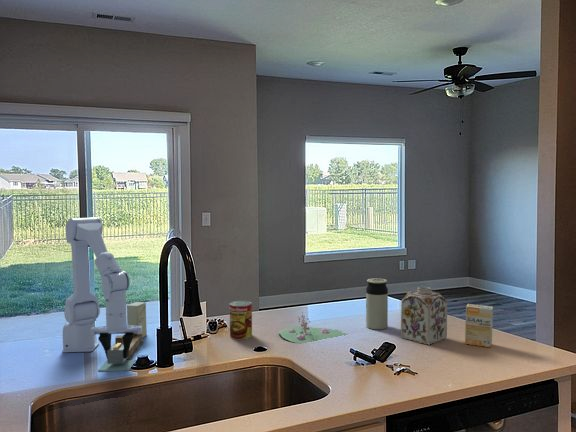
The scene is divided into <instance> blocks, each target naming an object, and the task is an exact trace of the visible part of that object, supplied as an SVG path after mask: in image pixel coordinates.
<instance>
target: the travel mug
mask: <svg viewBox="0 0 576 432" xmlns="http://www.w3.org/2000/svg"><path fill="white" fill-rule="evenodd" d="M366 282H367V286H366V288H365V289H366V293H365V295H366V296H365V303H366V305H365V310H366V311H365V312H366V313H365V314H366V315H365V316H366V317H365V326H366V328H368V329H371V330H374V329H376V330H377V331H378V330H385V329H387V328H388V326H389V323H388V319H389V318H388V317H389V316H388V315H389V314H388V311H389V310H388V307H389V306H388V305H389V302H388V301H389V298H388V297H389V295H388V294H389V289H388V286H387V282H388V279H384V278H377V277H375V278H368V279H367V280H366ZM376 330H375V331H376Z"/></svg>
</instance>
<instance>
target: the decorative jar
mask: <svg viewBox="0 0 576 432" xmlns="http://www.w3.org/2000/svg"><path fill="white" fill-rule="evenodd" d="M447 335H448V301H447V299H445V297H444V296H443V295H441V293H440V292H437V291H432V288H431V287H428V286H418V287H417V288H416V290H412V291H408V292H407V293H406V294H405V295H404V296H403V298H402V299H401V310H400V337H401V339H404V338H405V339H404V340H407V339H409V340H408V341H411V340H413V341H412V342H415V341H417V342H416V343H418V342H421V343H420V344H422V343H424V344H423V345H425V344H428V345H427V346H431V345H433V344H432V343H434V344H436V343H439V342H441V341H444V340H447V337H448V336H447ZM443 339H444V340H443ZM438 341H439V342H438ZM435 342H436V343H435ZM430 344H431V345H430Z"/></svg>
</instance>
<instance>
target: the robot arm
mask: <svg viewBox="0 0 576 432" xmlns="http://www.w3.org/2000/svg"><path fill="white" fill-rule="evenodd" d="M103 229H104V227H103V221H102V220H101V218H100V217H99V216H95V217H93V216H92V217H77V218H74V217H70V218H69V219H68V220H67V221H66V223H65V239H66V243H68V244H70V247H71V264H72V265H71V266H72V282H73V283H72V285H73V293H72V294H71V295H70V296H69V297H67V299H66V300H65V303H64V304H65V305H64V314H63V315H64V319H65V321H66V323H64V325H63V327H62V351H61V352H62V353H81V352H82V353H84V352H85V353H86V352H88V353H89V352H93V351H94V350H95V349H96V348H97V347H98V346H99V345H100V343H101V345H102V348H103V350H104V353H105V356H106V358H107V350H108V349H109V348H110V347H111V346H112V335H121V334H122V335H124V336H123V337H122V338H123V345H124V358H127V357H128V353H129V348H130V344H131V342H132V339H133V337H134V334H135V333H137V334H141V333H142V326H133V325H127V291H128V290H129V288H130V278H129V275H128V273H127V271H124V270H123V269H122V268H120V266H119V264H118V261H117V260H116V258H115V256H114V254H113V253H111V252H109V251H108V248H107V247H106V244H105V241H104V238H103ZM88 246H89V247H90V249H91V251H92V253H93V254H94V256H95V259H94V264H95V267H96V269H97V271H98V272H99V275H100V277H101V283H100V285H101V289H102V292H103V298H104V299H105V321H106V322H105V323H106V324H105V325H103V326H95V322H96V321H97V319H98V318H99V316H100V314H101V307H100V305H99V298H98V296H97V295H95V294H94V293H92V292H91V287H90V283H91V282H90V268H89V267H90V266H89V264H90V263H89V250H88V249H89V248H88ZM96 335H99V336H98V341H99V342H96V338H95V337H96Z"/></svg>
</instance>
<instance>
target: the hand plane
mask: <svg viewBox="0 0 576 432" xmlns="http://www.w3.org/2000/svg"><path fill="white" fill-rule="evenodd" d="M124 335H125V334H122V335H121V334H119V335H117V336H116V337H115V338H114V339H115V340H114V342H115V343H114V344H117V343H121V344H123V338H122V337H123V336H124ZM143 343H144V341H143V338H142V334H137V333H135V334H134V337H133V339H132V342H131V344H130V348H129V353H128V358H127V359H126V360H133V357H134V356H135V355H136V353H137V352H138V350H140V347H142V345H143Z"/></svg>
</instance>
